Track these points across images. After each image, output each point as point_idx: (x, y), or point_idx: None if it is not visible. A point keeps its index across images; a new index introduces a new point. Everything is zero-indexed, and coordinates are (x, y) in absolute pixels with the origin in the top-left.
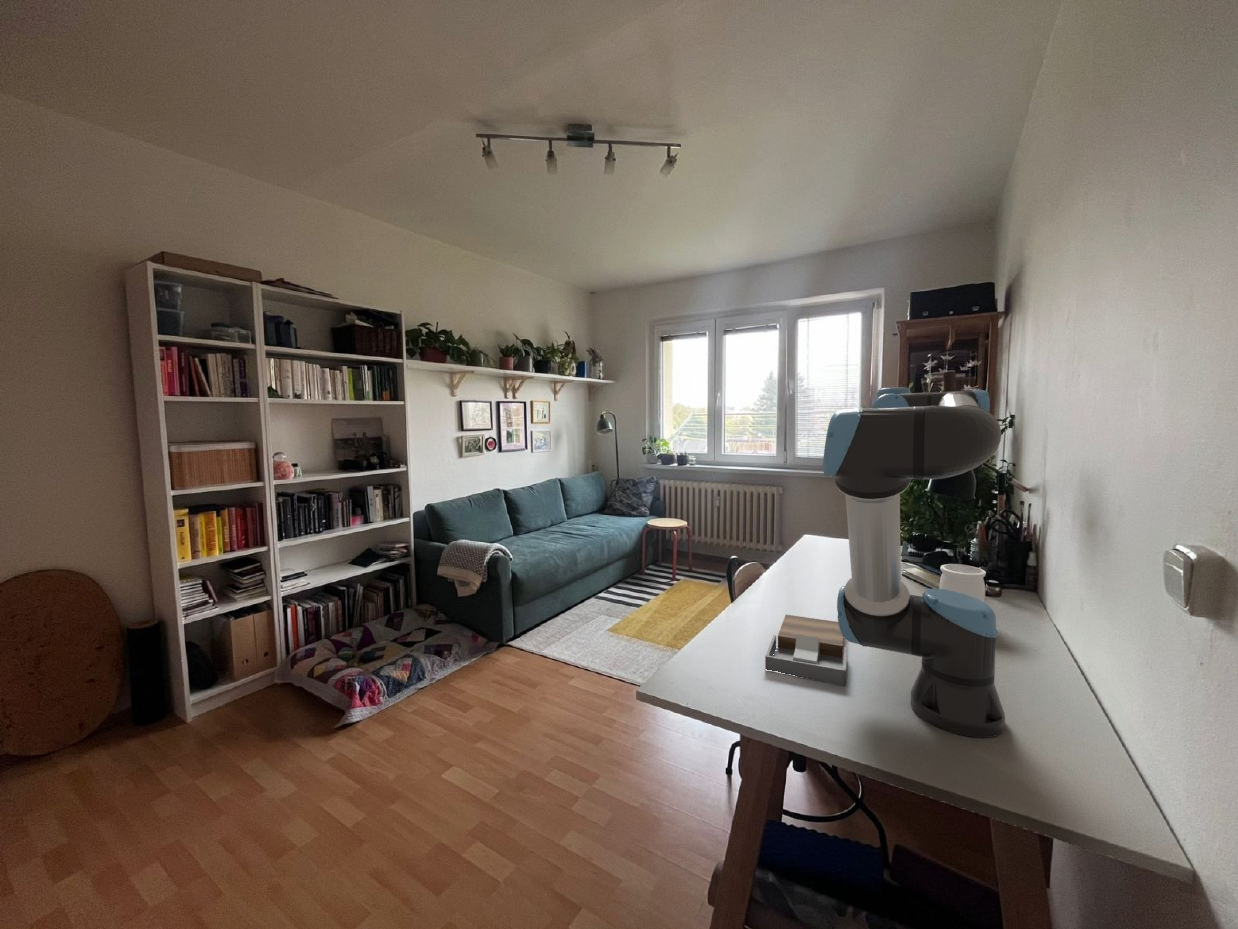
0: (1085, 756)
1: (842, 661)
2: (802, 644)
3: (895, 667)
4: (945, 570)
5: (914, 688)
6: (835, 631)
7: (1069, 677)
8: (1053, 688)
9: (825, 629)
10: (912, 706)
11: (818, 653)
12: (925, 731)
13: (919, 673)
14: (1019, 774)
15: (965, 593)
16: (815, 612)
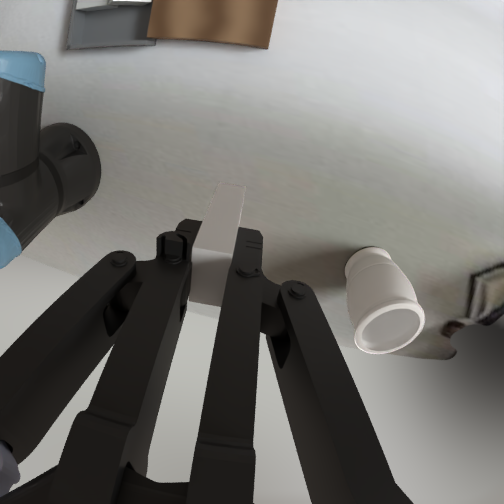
0: (52, 247)
1: (142, 39)
2: None
3: (153, 115)
4: (389, 305)
5: (46, 131)
6: (213, 26)
7: (199, 306)
8: None
9: (218, 8)
10: (53, 124)
11: (122, 4)
12: None
13: (40, 143)
14: None
15: (351, 300)
16: (384, 23)
